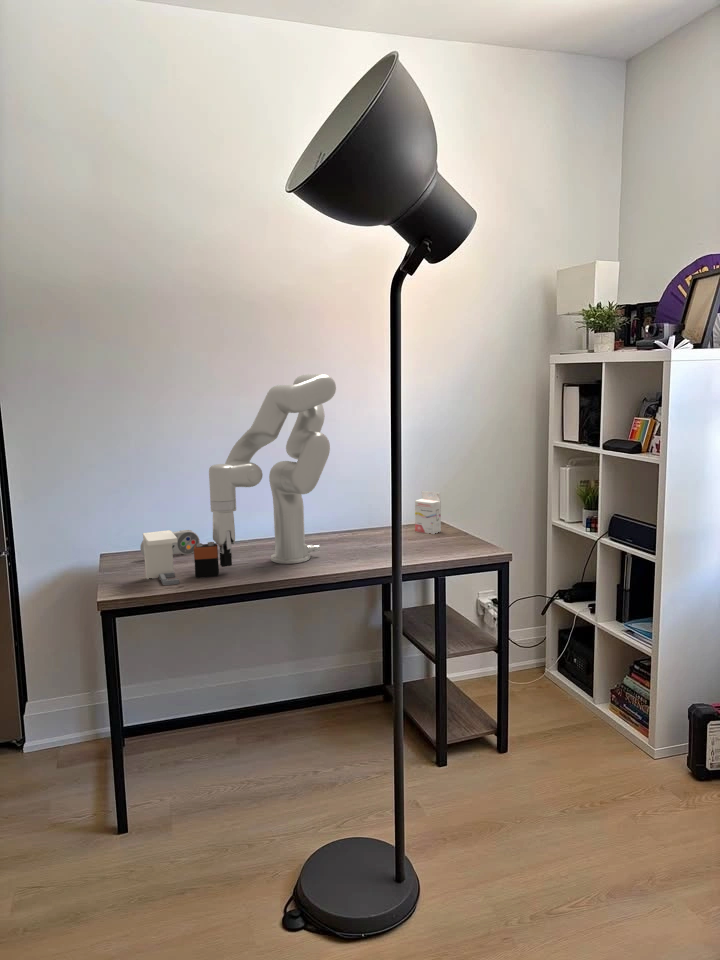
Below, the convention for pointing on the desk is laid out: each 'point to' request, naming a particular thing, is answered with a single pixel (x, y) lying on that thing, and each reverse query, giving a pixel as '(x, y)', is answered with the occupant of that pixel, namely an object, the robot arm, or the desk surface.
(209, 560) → the battery
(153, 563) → the overhang shelf
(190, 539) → the game controller
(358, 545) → the desk surface
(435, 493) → the ink cartridge box
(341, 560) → the desk surface
